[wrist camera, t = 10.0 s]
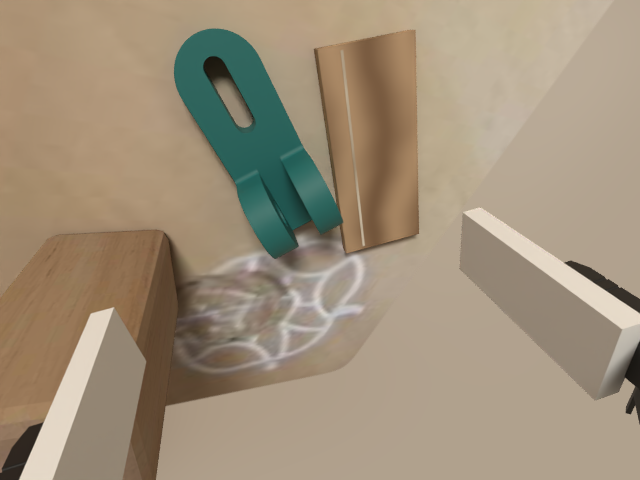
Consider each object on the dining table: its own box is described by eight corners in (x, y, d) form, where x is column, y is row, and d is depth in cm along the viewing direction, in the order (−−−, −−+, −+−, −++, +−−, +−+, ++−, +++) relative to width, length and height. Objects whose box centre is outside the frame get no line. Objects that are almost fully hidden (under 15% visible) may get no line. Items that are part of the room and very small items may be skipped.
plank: (343, 247, 41) (346, 253, 40) (313, 48, 31) (317, 49, 30) (414, 228, 42) (419, 233, 41) (409, 30, 32) (415, 30, 31)
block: (180, 307, 40) (155, 512, 23) (76, 318, 37) (-38, 555, 21) (167, 225, 35) (124, 406, 18) (47, 230, 33) (-133, 446, 16)
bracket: (327, 199, 38) (351, 235, 31) (269, 230, 38) (281, 272, 32) (235, 12, 28) (241, 6, 22) (158, 54, 28) (141, 61, 22)
